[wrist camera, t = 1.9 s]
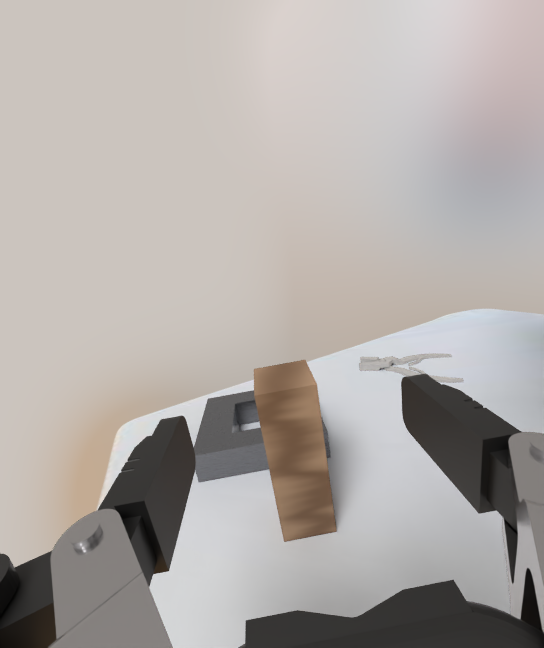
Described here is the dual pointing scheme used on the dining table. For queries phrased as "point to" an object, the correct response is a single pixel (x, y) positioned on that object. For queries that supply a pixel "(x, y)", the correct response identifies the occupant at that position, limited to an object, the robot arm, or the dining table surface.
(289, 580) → the dining table surface
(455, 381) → the pliers
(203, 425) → the socket block
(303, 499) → the walnut peg
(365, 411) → the dining table surface
